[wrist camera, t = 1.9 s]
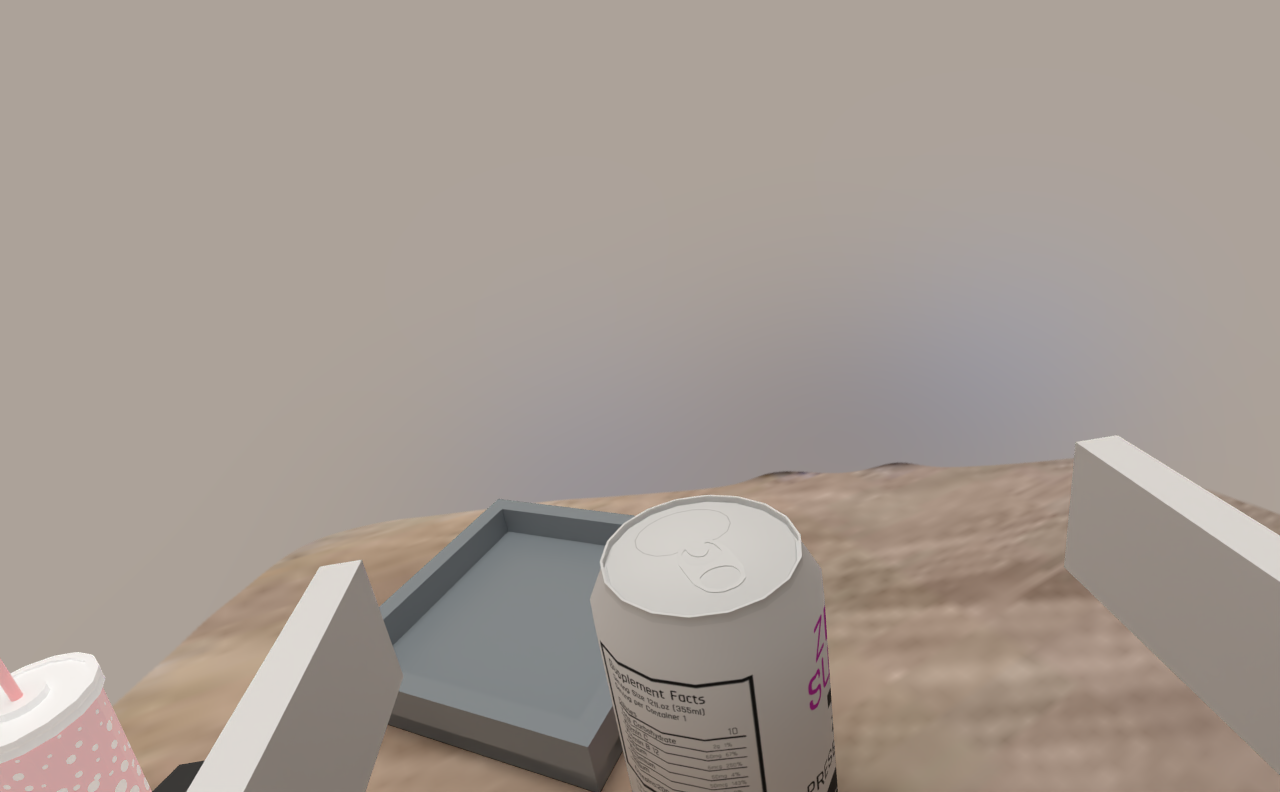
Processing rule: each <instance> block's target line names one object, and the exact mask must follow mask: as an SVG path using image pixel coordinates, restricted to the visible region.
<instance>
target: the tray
mask: <svg viewBox="0 0 1280 792" xmlns="http://www.w3.org/2000/svg"><path fill="white" fill-rule="evenodd" d="M633 517H635V516H633V515H625V514H616V513H608V512H600V511H592V510H584V509H576V508H568V507H560V506H552V505H544V504H536V503H527V502H519V501H511V500H503V499H498V500H497V501H496V502H495V503H493V505H491V506H490V507H489V508H488V509H487V510H486V511H485V512H484V513H482V514H481V515H480V516H479V517H478V518H477V519H476V520H475V521H474V522H473V523H471V524H470V525H469V526H468V527H467V528H466V529H465V530H464V531H463V532H461V533H460V534H459V535H458V536H457V537H456V538H455V539H454V540H453V541H452V542H450V543H449V544H448V545H447V546H446V547H445V548H444V549H443V550H442V551H441V552H439V553H438V554H437V555H436V556H435V557H434V558H433V559H432V560H431V561H429V562H428V563H427V564H426V565H425V566H424V567H423V568H422V569H421V570H420V571H418V572H417V573H416V574H415V575H414V576H413V577H412V578H411V579H410V580H409V581H407V582H406V583H405V584H404V585H403V586H402V587H401V588H400V589H399V590H397V591H396V592H395V593H394V594H393V595H392V596H391V597H390V598H389V599H388V600H386V601H385V602H384V603H383V604H382V605H381V606H380V607H379V609H380V612H381V615H382V618H383V620H384V623H385V626H386V629H387V632H388V634H389V637H390V640H391V643H392V646H393V648H394V651H395V654H396V657H397V659H398V662H399V665H400V668H401V671H402V673H403V679H402V682H401V685H400V688H399V692H398V695H397V698H396V701H395V704H394V707H393V710H392V713H391V716H390V719H389V722H388V724H389V725H392V726H395V727H398V728H401V729H404V730H407V731H410V732H413V733H416V734H419V735H422V736H425V737H428V738H431V739H434V740H437V741H441V742H444V743H447V744H450V745H453V746H456V747H459V748H462V749H465V750H468V751H471V752H474V753H477V754H480V755H483V756H486V757H490V758H493V759H496V760H499V761H502V762H505V763H508V764H511V765H514V766H517V767H520V768H523V769H526V770H529V771H532V772H535V773H538V774H542V775H545V776H548V777H551V778H554V779H557V780H560V781H563V782H566V783H569V784H572V785H575V786H578V787H581V788H584V789H587V790H591V791H594V792H601V790H602V788H603V786H604V784H605V782H606V780H607V779H608V777H609V775H610V773H611V771H612V769H613V768H614V766H615V764H616V762H617V760H618V758H619V756H620V755H621V753H622V751H623V748H622V744H621V739H620V735H619V731H618V726H617V722H616V717H615V713H614V709H613V704H612V700H611V695H610V691H609V686H608V682H607V678H606V673H605V669H604V664H603V660H602V655H601V651H600V647H599V642H598V638H597V633H596V629H595V624H594V619H593V614H592V608H591V603H590V597H591V594H592V592H593V589H594V586H595V583H596V580H597V577H598V574H599V571H600V569H601V566H600V559H601V556H602V554H603V551H604V548H605V545H606V542H607V541H608V540H609V538H610V537H611V536H612V535H613V534H614V533H615V532H616V531H617V530H618V529H619V528H620V527H621V526H622V524H623V523H625V522H626V521H628V520H630V519H631V518H633Z"/></svg>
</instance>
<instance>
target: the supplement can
mask: <svg viewBox="0 0 1280 792" xmlns="http://www.w3.org/2000/svg"><path fill="white" fill-rule="evenodd" d="M600 566H601V569H600V571H599V574H598V577H597V580H596V583H595V586H594V589H593V592H592V594H591V597H590V603H591V608H592V614H593V619H594V624H595V629H596V633H597V638H598V642H599V647H600V651H601V655H602V660H603V664H604V669H605V673H606V678H607V682H608V686H609V691H610V695H611V700H612V704H613V709H614V713H615V717H616V722H617V726H618V731H619V735H620V739H621V744H622V748H623V753H624V757H625V762H626V766H627V770H628V775H629V779H630V784H631V788H632V792H838V789H837V775H836V760H835V746H834V731H833V717H832V702H831V688H830V673H829V659H828V644H827V630H826V615H825V601H824V590H823V580H822V570H821V568H820V566H819V565H818V563H817V562H816V561H815V559H814V558H813V556H812V555H811V554H810V552H809V551H808V549H807V548H806V547H805V545H804V544H803V543H802V541H801V535H800V533H799V532H798V531H797V529H796V528H795V526H794V525H793V524H792V522H791V521H790V520H789V518H788V517H787V516H785V515H784V514H782V513H780V512H779V511H777V510H775V509H774V508H772V507H770V506H769V505H767V504H765V503H761V502H758V501H754V500H750V499H746V498H742V497H739V496H721V495H702V496H695V497H688V498H681V499H675V500H672V501H669V502H666V503H663V504H660V505H657V506H654V507H651V508H649V509H647V510H645V511H643V512H642V513H640V514H638V515H636V516H635V517H633V518H631V519H630V520H628V521H626V522H625V523H623V524H622V526H621V527H620V528H619V529H618V530H617V531H616V532H615V533H614V534H613V535H612V536H611V537H610V538H609V540H608V541H607V542H606V545H605V548H604V551H603V554H602V556H601V559H600Z"/></svg>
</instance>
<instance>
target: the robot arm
mask: <svg viewBox="0 0 1280 792" xmlns="http://www.w3.org/2000/svg"><path fill="white" fill-rule="evenodd" d="M1064 567H1065V568H1066V569H1067V570H1068V571H1069V572H1070V573H1071V574H1072V575H1073V576H1074V577H1075V578H1076V579H1077V580H1078V581H1079V582H1080V583H1081V584H1082V585H1083V586H1084V587H1085V588H1086V589H1087V590H1088V591H1089V592H1091V593H1092V594H1093V595H1094V596H1095V597H1096V598H1097V599H1098V600H1099V601H1100V602H1101V603H1102V604H1103V605H1104V606H1105V607H1106V608H1107V609H1108V610H1109V611H1110V612H1111V613H1112V614H1113V615H1114V616H1115V617H1116V618H1117V619H1118V620H1120V621H1121V622H1122V623H1123V624H1124V625H1125V626H1126V627H1127V628H1128V629H1129V630H1130V631H1131V632H1132V633H1133V634H1134V635H1135V636H1136V637H1137V638H1138V639H1139V640H1140V641H1141V642H1142V643H1143V644H1144V645H1145V646H1146V647H1148V648H1149V649H1150V650H1151V651H1152V652H1153V653H1154V654H1155V655H1156V656H1157V657H1158V658H1159V659H1160V660H1161V661H1162V662H1163V663H1164V664H1165V665H1166V666H1167V667H1168V668H1169V669H1170V670H1171V671H1172V672H1173V673H1174V674H1175V675H1177V676H1178V677H1179V678H1180V679H1181V680H1182V681H1183V682H1184V683H1185V684H1186V685H1187V686H1188V687H1189V688H1190V689H1191V690H1192V691H1193V692H1194V693H1195V694H1196V695H1197V696H1198V697H1199V698H1200V699H1201V700H1202V701H1203V702H1205V703H1206V704H1207V705H1208V706H1209V707H1210V708H1211V709H1212V710H1213V711H1214V712H1215V713H1216V714H1217V715H1218V716H1219V717H1220V718H1221V719H1222V720H1223V721H1224V722H1225V723H1226V724H1227V725H1228V726H1229V727H1230V728H1231V729H1232V730H1234V731H1235V732H1236V733H1237V734H1238V735H1239V736H1240V737H1241V738H1242V739H1243V740H1244V741H1245V742H1246V743H1247V744H1248V745H1249V746H1250V747H1251V748H1252V749H1253V750H1254V751H1255V752H1256V753H1257V754H1258V755H1259V756H1260V757H1262V758H1263V759H1264V760H1265V761H1266V762H1267V763H1268V764H1269V765H1270V766H1271V767H1272V768H1273V769H1274V770H1275V771H1276V772H1277V773H1278V774H1279V775H1280V535H1278V534H1276V533H1275V532H1273V531H1271V530H1270V529H1268V528H1267V527H1265V526H1263V525H1262V524H1260V523H1259V522H1257V521H1255V520H1254V519H1252V518H1250V517H1249V516H1247V515H1246V514H1244V513H1242V512H1241V511H1239V510H1237V509H1236V508H1234V507H1233V506H1231V505H1229V504H1228V503H1226V502H1225V501H1223V500H1221V499H1220V498H1218V497H1216V496H1215V495H1213V494H1212V493H1210V492H1208V491H1207V490H1205V489H1203V488H1202V487H1200V486H1199V485H1197V484H1195V483H1194V482H1192V481H1190V480H1189V479H1187V478H1186V477H1184V476H1182V475H1181V474H1179V473H1177V472H1176V471H1174V470H1173V469H1171V468H1169V467H1168V466H1166V465H1165V464H1163V463H1161V462H1160V461H1158V460H1156V459H1155V458H1153V457H1152V456H1150V455H1148V454H1147V453H1145V452H1143V451H1142V450H1140V449H1139V448H1137V447H1135V446H1133V445H1132V444H1131V443H1129V442H1127V441H1126V440H1124V439H1122V438H1121V437H1119V436H1118V435H1116V436H1110V437H1104V438H1098V439H1092V440H1085V441H1079V442H1076V444H1075V455H1074V466H1073V477H1072V488H1071V498H1070V509H1069V520H1068V531H1067V542H1066V552H1065V563H1064ZM402 679H403V673H402V671H401V668H400V665H399V662H398V659H397V657H396V654H395V651H394V648H393V646H392V643H391V640H390V637H389V634H388V632H387V629H386V626H385V623H384V620H383V618H382V615H381V612H380V609H379V606H378V604H377V601H376V598H375V595H374V593H373V590H372V587H371V584H370V581H369V579H368V576H367V573H366V570H365V567H364V565H363V562H362V560H357V561H351V562H345V563H339V564H333V565H327V566H321V567H319V569H318V571H317V572H316V574H315V576H314V578H313V579H312V581H311V583H310V584H309V586H308V588H307V589H306V591H305V593H304V594H303V596H302V598H301V599H300V601H299V603H298V604H297V606H296V608H295V610H294V611H293V613H292V615H291V616H290V618H289V620H288V621H287V623H286V625H285V626H284V628H283V630H282V631H281V633H280V635H279V637H278V638H277V640H276V642H275V643H274V645H273V647H272V648H271V650H270V652H269V653H268V655H267V657H266V658H265V660H264V662H263V663H262V665H261V667H260V669H259V670H258V672H257V674H256V675H255V677H254V679H253V680H252V682H251V684H250V685H249V687H248V689H247V690H246V692H245V694H244V696H243V697H242V699H241V701H240V702H239V704H238V706H237V707H236V709H235V711H234V712H233V714H232V716H231V717H230V719H229V721H228V722H227V724H226V726H225V728H224V729H223V731H222V733H221V734H220V736H219V738H218V739H217V741H216V743H215V744H214V746H213V748H212V749H211V751H210V753H209V755H208V756H207V758H206V760H205V761H200V762H194V763H188V764H182V765H179V766H178V767H177V768H176V769H175V770H174V771H173V772H172V773H171V774H170V775H169V776H168V777H167V778H166V779H165V780H164V781H163V782H162V783H161V784H160V785H159V786H158V787H157V788H156V789H155V790H154V791H152V792H365V791H366V788H367V785H368V782H369V779H370V776H371V773H372V770H373V767H374V764H375V761H376V758H377V755H378V752H379V749H380V746H381V743H382V740H383V737H384V734H385V731H386V728H387V725H388V722H389V719H390V716H391V713H392V710H393V707H394V704H395V701H396V698H397V695H398V692H399V688H400V685H401V682H402Z"/></svg>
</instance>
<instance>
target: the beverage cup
mask: <svg viewBox="0 0 1280 792" xmlns="http://www.w3.org/2000/svg"><path fill="white" fill-rule="evenodd" d="M101 670H102V669H101V667H100V666H99V664H98V662H97V661H96V659H95V657H94V655H90V654H85V653H80V652H75V653H68V654H62V655H56V656H52V657H49V658H46V659H44V660H41V661H38V662H35V663H32V664H30V665H27V666H24V667H23V668H20V669H18V670H17V671H14V672H13V673H11V674H10V673H9V671H8V669H7V668H6V666H5V665H4V663H3V662H2V660H1V659H0V792H152V791H151V789H150V786H149V784H148V782H147V780H146V778H145V776H144V774H143V772H142V769H141V767H140V765H139V763H138V761H137V759H136V757H135V755H134V752H133V750H132V748H131V746H130V744H129V742H128V740H127V738H126V735H125V733H124V731H123V729H122V727H121V725H120V723H119V721H118V718H117V716H116V714H115V712H114V710H113V708H112V706H111V704H110V701H109V700H108V697H107V695H106V693H105V691H104V689H103V684H104V681H105V676H104V674H103V673H102V671H101Z"/></svg>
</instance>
